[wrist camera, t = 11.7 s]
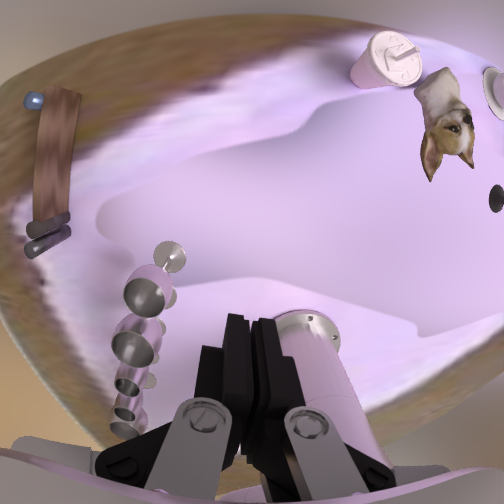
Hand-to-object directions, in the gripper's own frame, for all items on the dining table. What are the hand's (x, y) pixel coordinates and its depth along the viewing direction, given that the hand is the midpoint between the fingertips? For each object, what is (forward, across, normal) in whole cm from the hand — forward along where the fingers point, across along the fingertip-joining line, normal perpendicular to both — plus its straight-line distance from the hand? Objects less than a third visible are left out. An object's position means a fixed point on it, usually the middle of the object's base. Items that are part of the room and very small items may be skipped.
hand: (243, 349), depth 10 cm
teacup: (+28, -39, -31) cm, 57 cm away
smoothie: (+27, -12, -21) cm, 36 cm away
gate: (+27, +24, -4) cm, 36 cm away
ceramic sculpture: (+28, -24, -18) cm, 41 cm away
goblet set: (+27, +10, +19) cm, 35 cm away
